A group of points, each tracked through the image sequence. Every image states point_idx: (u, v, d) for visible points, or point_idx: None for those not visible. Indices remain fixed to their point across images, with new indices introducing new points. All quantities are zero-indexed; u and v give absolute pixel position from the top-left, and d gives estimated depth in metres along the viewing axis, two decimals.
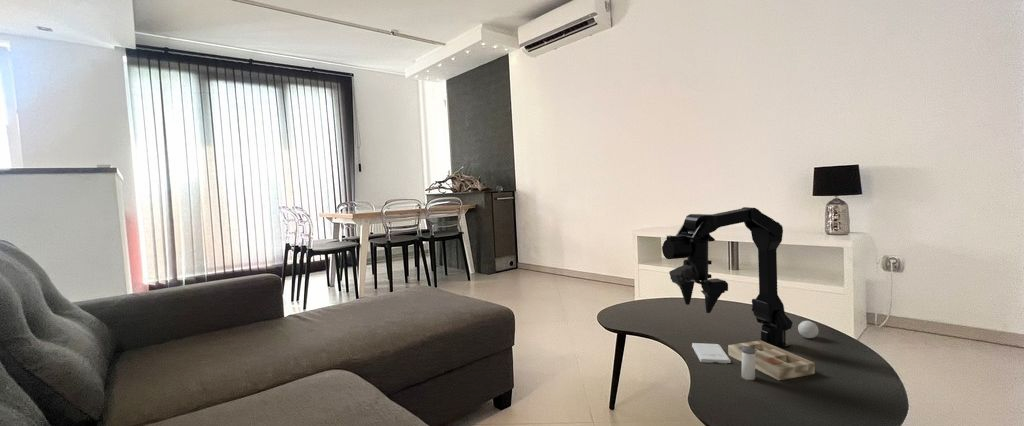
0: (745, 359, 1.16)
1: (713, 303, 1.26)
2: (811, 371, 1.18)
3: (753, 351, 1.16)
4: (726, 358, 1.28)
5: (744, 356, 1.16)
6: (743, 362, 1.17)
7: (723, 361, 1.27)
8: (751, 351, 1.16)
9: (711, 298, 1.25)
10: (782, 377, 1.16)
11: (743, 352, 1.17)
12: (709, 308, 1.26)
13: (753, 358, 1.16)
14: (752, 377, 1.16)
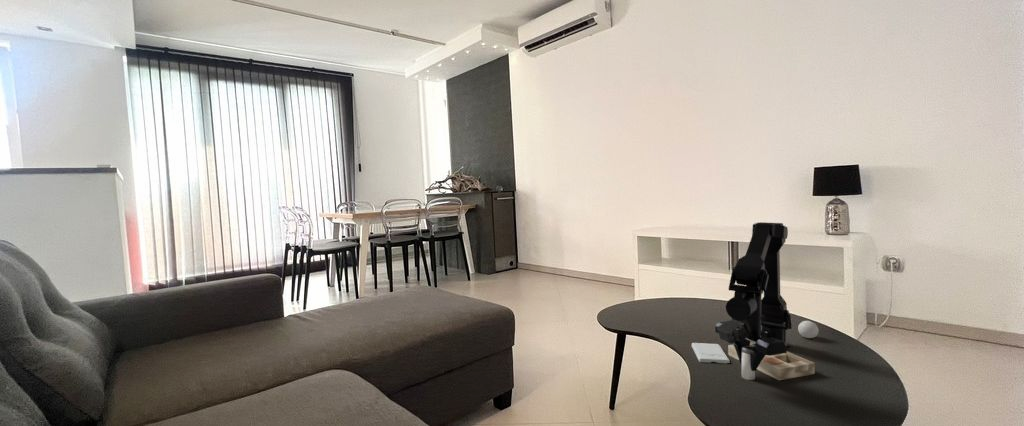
0: (745, 359, 1.16)
1: (759, 360, 1.15)
2: (811, 371, 1.18)
3: None
4: (725, 358, 1.28)
5: (744, 356, 1.16)
6: (743, 362, 1.17)
7: (722, 361, 1.27)
8: None
9: (757, 355, 1.14)
10: (782, 377, 1.16)
11: (743, 352, 1.17)
12: (754, 366, 1.15)
13: None
14: (752, 377, 1.16)
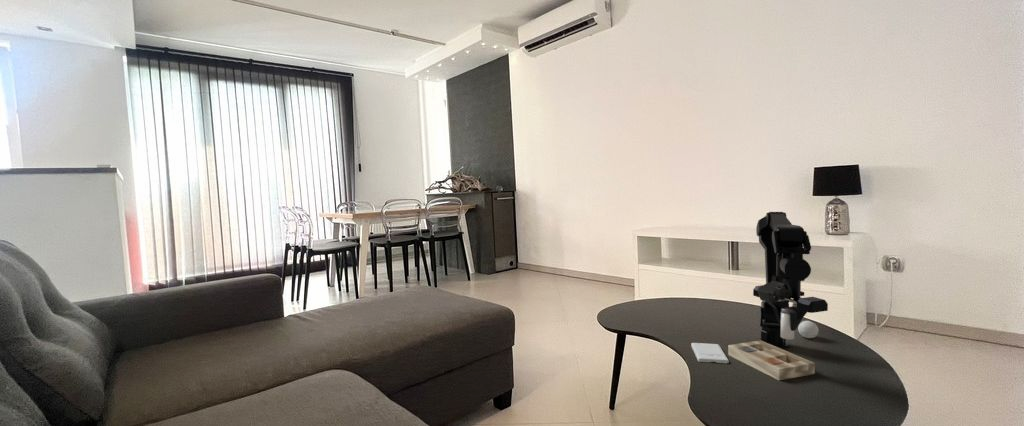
0: (784, 319, 1.20)
1: (799, 320, 1.18)
2: (811, 371, 1.18)
3: None
4: (724, 358, 1.28)
5: (784, 316, 1.20)
6: (782, 322, 1.20)
7: (721, 361, 1.27)
8: None
9: (797, 315, 1.18)
10: (782, 377, 1.16)
11: (782, 313, 1.20)
12: (794, 326, 1.18)
13: None
14: (791, 337, 1.20)
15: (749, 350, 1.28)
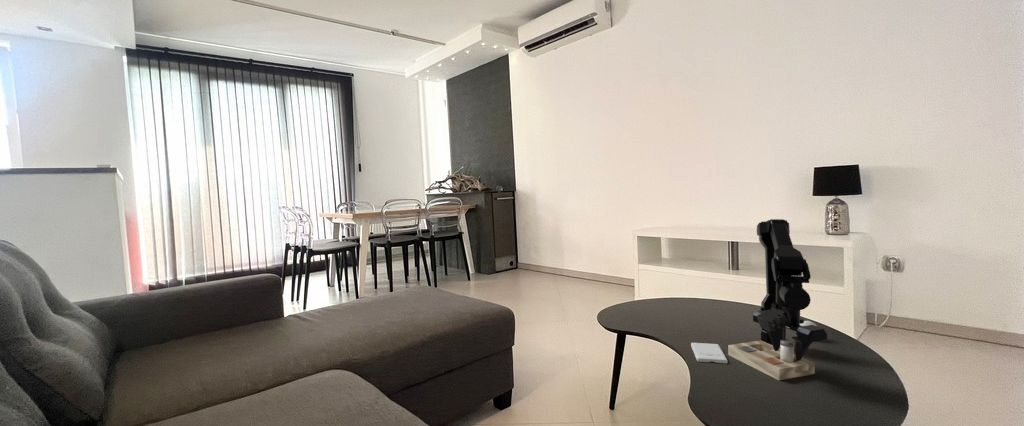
0: (784, 351, 1.20)
1: (804, 350, 1.17)
2: (811, 371, 1.18)
3: (792, 344, 1.20)
4: (723, 358, 1.28)
5: (783, 349, 1.21)
6: (782, 355, 1.21)
7: (720, 361, 1.27)
8: (790, 344, 1.20)
9: (802, 345, 1.17)
10: (782, 377, 1.16)
11: (782, 345, 1.21)
12: (799, 355, 1.17)
13: (792, 351, 1.20)
14: None
15: (749, 350, 1.28)
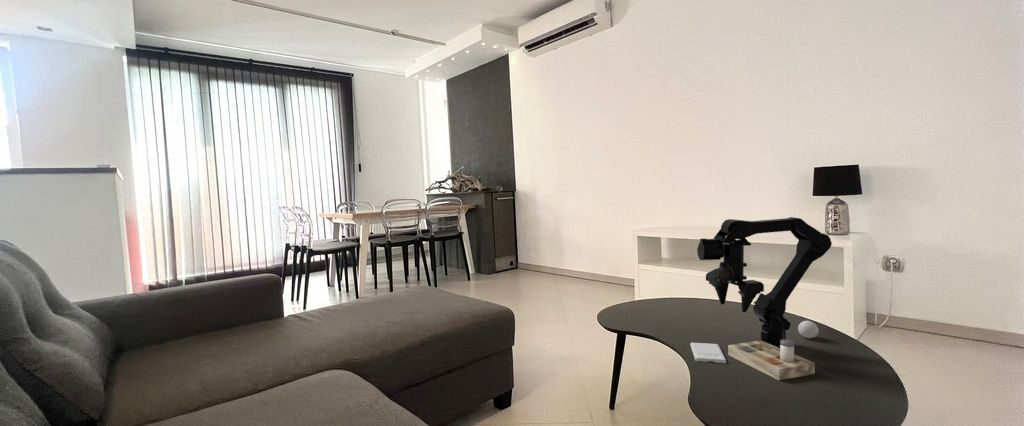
0: (784, 351, 1.20)
1: (749, 303, 1.34)
2: (811, 371, 1.18)
3: (792, 344, 1.20)
4: (722, 358, 1.28)
5: (783, 349, 1.21)
6: (782, 355, 1.21)
7: (718, 360, 1.27)
8: (790, 344, 1.20)
9: (747, 298, 1.34)
10: (782, 377, 1.16)
11: (782, 345, 1.21)
12: (745, 308, 1.34)
13: (792, 351, 1.20)
14: None
15: (749, 350, 1.28)
